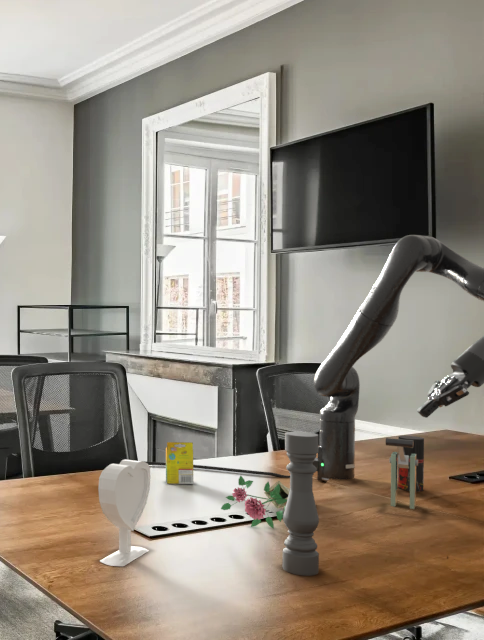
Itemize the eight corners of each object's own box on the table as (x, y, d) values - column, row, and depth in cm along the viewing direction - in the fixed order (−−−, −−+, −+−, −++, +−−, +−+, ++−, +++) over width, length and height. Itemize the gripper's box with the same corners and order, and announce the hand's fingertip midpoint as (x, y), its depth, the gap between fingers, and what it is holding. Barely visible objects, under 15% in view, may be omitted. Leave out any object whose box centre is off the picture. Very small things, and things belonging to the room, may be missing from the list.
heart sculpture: (118, 569, 135) (119, 471, 135) (94, 563, 138) (94, 467, 138) (153, 548, 148) (154, 458, 148) (130, 543, 151) (131, 455, 151)
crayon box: (192, 482, 207) (192, 440, 207) (193, 484, 204) (194, 442, 204) (165, 481, 208) (165, 440, 208) (166, 483, 205) (166, 442, 205)
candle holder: (276, 564, 139) (277, 431, 138) (308, 563, 139) (309, 431, 139) (292, 575, 132) (293, 436, 132) (325, 575, 133) (326, 436, 133)
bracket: (423, 518, 171) (423, 459, 171) (379, 512, 176) (380, 455, 176) (426, 509, 180) (426, 452, 179) (384, 504, 184) (385, 449, 184)
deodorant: (426, 497, 192) (427, 439, 192) (401, 496, 193) (402, 438, 193) (418, 492, 198) (419, 436, 198) (394, 490, 199) (395, 435, 199)
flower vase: (314, 542, 177) (263, 543, 150) (267, 518, 185) (210, 514, 158) (333, 497, 176) (286, 490, 150) (285, 474, 184) (232, 464, 158)
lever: (412, 447, 165) (413, 437, 166) (385, 445, 168) (385, 435, 169) (416, 469, 177) (417, 459, 178) (391, 466, 180) (391, 457, 181)
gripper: (453, 348, 173) (397, 399, 174) (482, 351, 160) (421, 406, 161) (478, 371, 172) (421, 422, 174) (508, 376, 159) (447, 431, 161)
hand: (421, 414), depth 167 cm, fingers closed
